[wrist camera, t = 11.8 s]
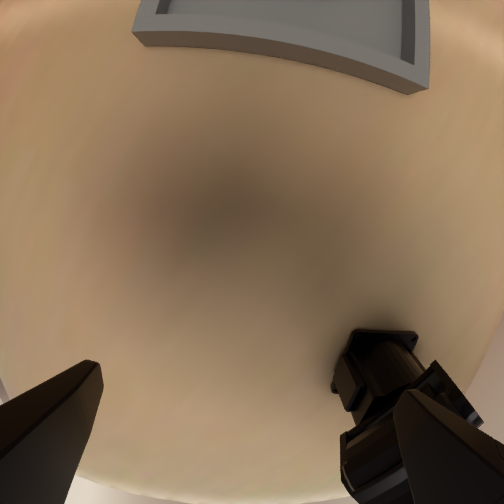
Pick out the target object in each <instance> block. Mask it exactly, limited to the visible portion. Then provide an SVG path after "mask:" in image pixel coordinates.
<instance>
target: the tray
mask: <svg viewBox="0 0 504 504" xmlns="http://www.w3.org/2000/svg"><path fill="white" fill-rule="evenodd" d="M131 32H132V33H133V34H134V35H135V36H136V37H137V38H138V39H139V41H140V42H141V43H142V44H143V45H144V46H178V47H199V48H212V49H223V50H232V51H241V52H248V53H255V54H262V55H268V56H273V57H279V58H284V59H289V60H294V61H299V62H303V63H308V64H312V65H316V66H320V67H324V68H328V69H332V70H335V71H339V72H342V73H346V74H349V75H352V76H356V77H359V78H362V79H365V80H368V81H371V82H374V83H377V84H380V85H383V86H385V87H388V88H391V89H393V90H396V91H399V92H401V93H404V94H406V95H409V94H412V93H416V92H419V91H423V90H426V89H429V74H430V11H429V0H141V2H140V5H139V8H138V11H137V14H136V18H135V21H134V24H133V27H132V31H131Z"/></svg>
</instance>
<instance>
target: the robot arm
mask: <svg viewBox="0 0 504 504" xmlns="http://www.w3.org/2000/svg"><path fill="white" fill-rule="evenodd" d="M357 335H359V336H358V337H356V336H357ZM355 337H356V338H355ZM412 338H413V339H412ZM417 340H418V335H417V334H416V333H415V332H401V331H378V330H360V329H358V330H355V331H353V332H352V334H351V336H350V339H349V341H348V344H347V347H346V349H345V352H344V353H343V354H342V356H341V358H340V361H339V363H338V366H337V368H336V371H335V373H334V376H333V382H332V385H331V391H332V393H334V394H339V396H340V398H341V401H342V404H343V406H344V409H345V410H346V412H351V414H352V417H353V419H354V422H355V425H356V426H355V427H354V428H352V429H351V430H349V431H348V432H347V431H346V432H344V433H343V434H341V435H340V472H341V481H342V483H343V484H344V486H345V488H346V489H347V491H348V493H349V494H350V495H351V496H352V497H353V498H354V499H355V500H356V501H357V502H358V503H359V504H504V444H502V443H500V442H499V441H497V440H495V439H493V438H492V437H490V436H489V435H487V434H486V433H484V432H483V431H481V430H479V429H478V428H479V427H480V426H481V425H482V424H483V423H484V422H483V420H482V419H481V418H480V416H479V415H478V413H477V412H476V411H475V409H474V408H473V407H472V405H471V404H470V403H469V401H468V400H467V399H466V397H465V396H464V395H463V393H462V392H461V391H460V390H459V388H458V387H457V386H456V384H455V383H454V382H453V381H452V379H451V378H450V377H449V376H448V374H447V373H446V372H445V371H444V370H443V368H442V367H441V366H440V365H439V363H438V362H437V361H436V360H434V361H433V362H432V363H431V364H430V367H429V368H428V369H425V368H424V367H423V365H422V364H421V363H420V361H419V360H418V359H417V357H416V356H415V355H414V353H413V352H412V351H413V349H414V347H415V345H416V343H417ZM103 387H104V384H103V378H102V372H101V367H100V364H99V363H98V362H95V361H91V360H83V361H82V362H80V363H78V364H76V365H74V366H73V367H71V368H69V369H67V370H65V371H63V372H62V373H60V374H58V375H56V376H54V377H52V378H51V379H49V380H47V381H45V382H43V383H41V384H39V385H38V386H36V387H34V388H32V389H30V390H28V391H26V392H25V393H23V394H21V395H19V396H17V397H15V398H13V399H12V400H10V401H8V402H6V403H4V404H2V405H0V504H64V503H65V500H66V497H67V494H68V491H69V488H70V486H71V483H72V480H73V478H74V475H75V472H76V470H77V467H78V464H79V462H80V459H81V457H82V454H83V452H84V449H85V447H86V444H87V442H88V439H89V437H90V434H91V431H92V427H93V424H94V420H95V416H96V413H97V409H98V406H99V403H100V399H101V396H102V393H103ZM335 388H336V389H335Z"/></svg>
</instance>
